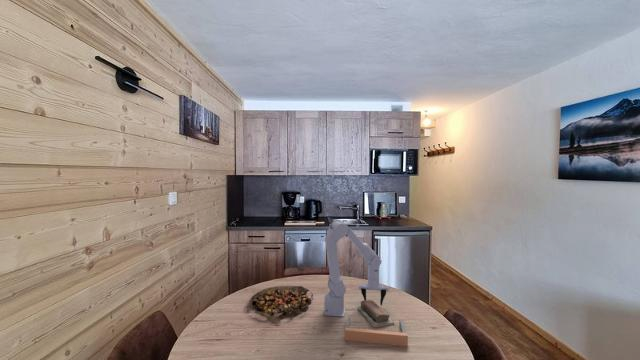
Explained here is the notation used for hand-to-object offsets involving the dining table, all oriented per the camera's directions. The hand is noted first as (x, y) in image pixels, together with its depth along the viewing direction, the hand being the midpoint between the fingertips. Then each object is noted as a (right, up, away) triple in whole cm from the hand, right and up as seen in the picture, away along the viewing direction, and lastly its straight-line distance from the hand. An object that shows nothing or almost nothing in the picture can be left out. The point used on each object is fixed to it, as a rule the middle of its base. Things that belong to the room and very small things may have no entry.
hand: (373, 304), depth 138 cm
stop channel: (-4, -1, -22) cm, 22 cm away
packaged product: (-1, -2, -10) cm, 10 cm away
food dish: (-47, -2, +4) cm, 47 cm away
